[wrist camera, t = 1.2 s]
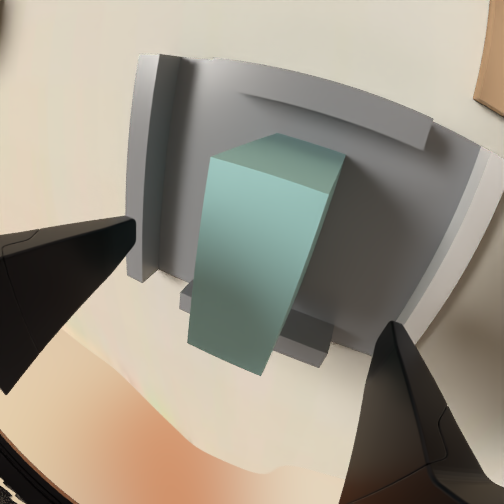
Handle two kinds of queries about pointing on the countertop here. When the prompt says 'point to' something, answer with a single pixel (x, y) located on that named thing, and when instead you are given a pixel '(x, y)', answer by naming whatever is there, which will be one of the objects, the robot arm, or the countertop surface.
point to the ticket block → (257, 243)
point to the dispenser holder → (342, 203)
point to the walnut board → (492, 61)
